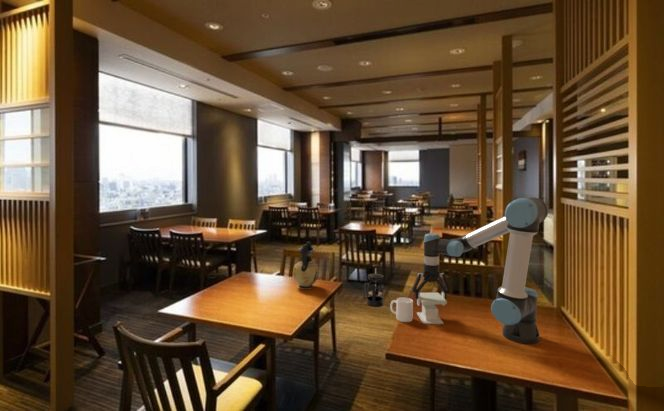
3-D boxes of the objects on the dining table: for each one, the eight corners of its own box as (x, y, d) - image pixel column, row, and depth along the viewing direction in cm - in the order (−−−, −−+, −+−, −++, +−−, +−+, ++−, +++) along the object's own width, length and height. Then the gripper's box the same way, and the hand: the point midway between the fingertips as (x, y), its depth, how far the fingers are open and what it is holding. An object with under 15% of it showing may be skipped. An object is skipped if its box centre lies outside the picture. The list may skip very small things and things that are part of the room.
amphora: (318, 291, 226) (318, 245, 224) (291, 291, 226) (291, 244, 224) (319, 283, 244) (319, 240, 241) (294, 283, 244) (294, 240, 242)
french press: (385, 302, 207) (386, 263, 206) (383, 308, 198) (383, 267, 197) (365, 300, 211) (366, 262, 209) (362, 305, 202) (363, 265, 200)
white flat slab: (446, 304, 176) (447, 301, 176) (422, 304, 176) (422, 301, 176) (438, 295, 190) (438, 292, 190) (415, 295, 190) (415, 292, 190)
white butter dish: (443, 324, 177) (444, 311, 177) (423, 324, 177) (424, 311, 177) (435, 313, 191) (435, 301, 191) (416, 313, 191) (416, 301, 190)
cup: (409, 323, 177) (409, 303, 176) (386, 318, 184) (387, 299, 183) (414, 318, 184) (415, 299, 183) (393, 313, 191) (393, 295, 190)
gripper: (452, 262, 186) (451, 302, 187) (406, 262, 185) (405, 302, 187) (457, 265, 178) (456, 307, 180) (409, 265, 178) (408, 307, 179)
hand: (430, 305), depth 183 cm, fingers closed on white flat slab, 12 cm apart
